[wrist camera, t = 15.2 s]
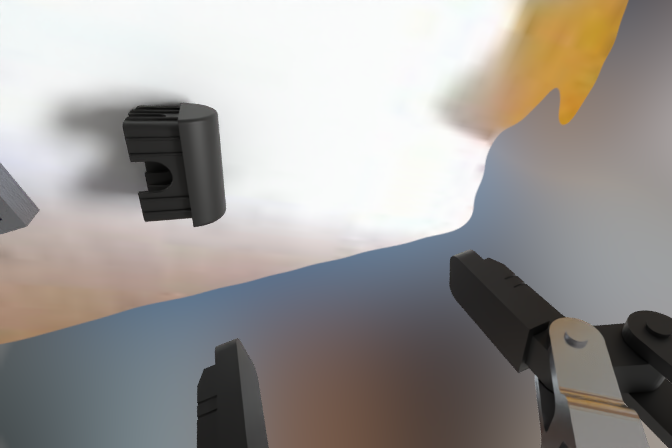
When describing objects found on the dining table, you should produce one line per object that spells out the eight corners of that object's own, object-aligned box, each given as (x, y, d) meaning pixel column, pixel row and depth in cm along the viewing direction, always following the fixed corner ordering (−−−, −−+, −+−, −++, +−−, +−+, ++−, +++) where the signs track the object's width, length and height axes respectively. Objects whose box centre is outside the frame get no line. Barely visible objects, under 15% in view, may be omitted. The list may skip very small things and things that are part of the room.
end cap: (224, 193, 38) (228, 225, 33) (153, 198, 36) (145, 232, 31) (215, 101, 33) (218, 120, 28) (132, 99, 31) (118, 120, 26)
